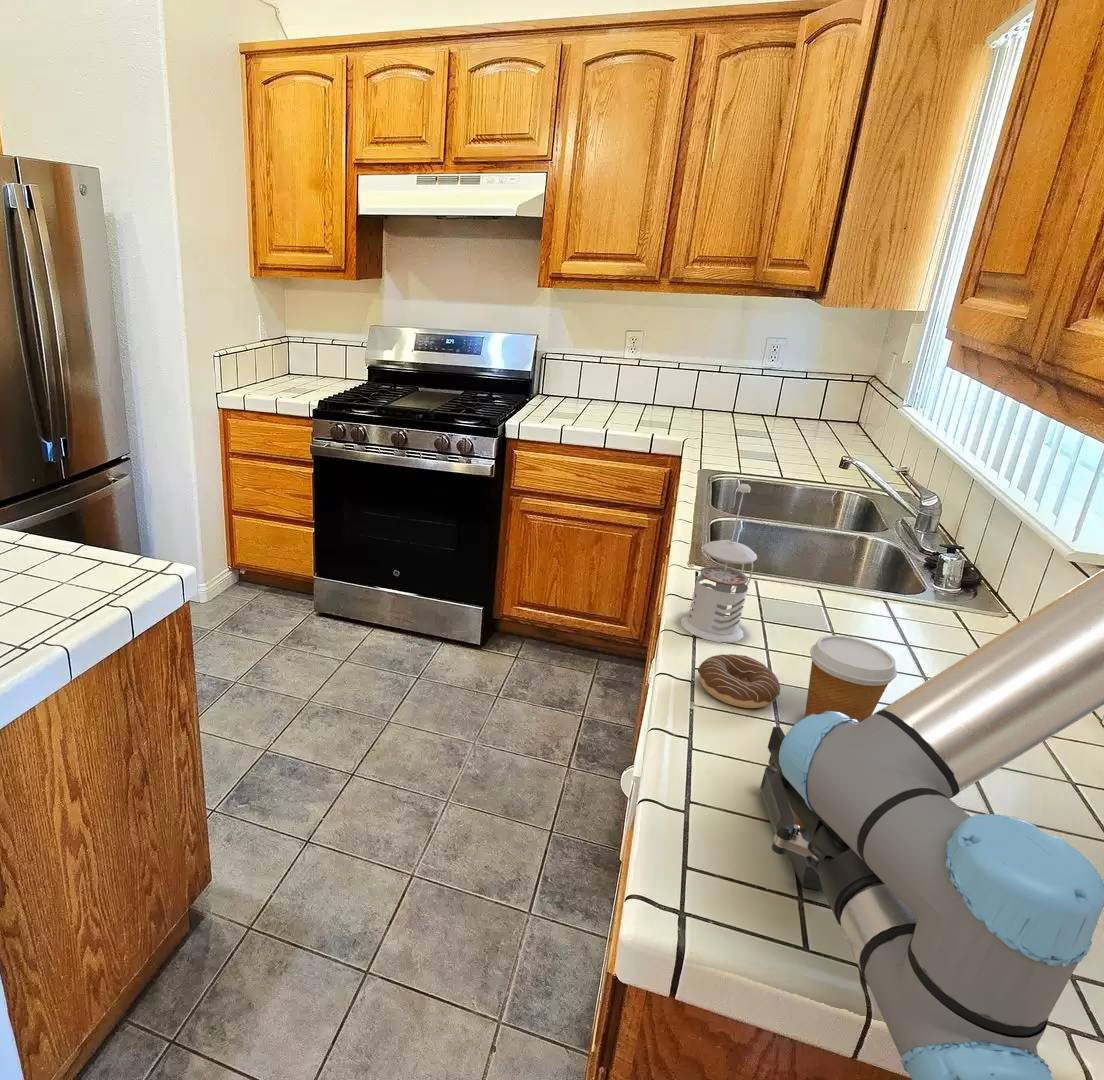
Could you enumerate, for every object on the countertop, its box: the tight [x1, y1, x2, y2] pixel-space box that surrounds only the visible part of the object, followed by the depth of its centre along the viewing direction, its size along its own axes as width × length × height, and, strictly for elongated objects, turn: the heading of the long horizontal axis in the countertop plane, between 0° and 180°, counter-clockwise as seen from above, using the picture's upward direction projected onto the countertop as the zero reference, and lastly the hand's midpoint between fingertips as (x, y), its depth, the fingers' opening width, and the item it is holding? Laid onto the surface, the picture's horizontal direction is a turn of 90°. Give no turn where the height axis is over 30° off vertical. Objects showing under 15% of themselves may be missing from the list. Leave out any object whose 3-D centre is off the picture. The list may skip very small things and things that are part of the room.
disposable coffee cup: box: [804, 634, 898, 723], centre depth 96 cm, size 10×10×12 cm
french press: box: [680, 483, 758, 643], centre depth 121 cm, size 10×12×25 cm
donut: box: [697, 653, 781, 709], centre depth 106 cm, size 11×11×4 cm
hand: (792, 740), depth 82 cm, fingers closed on squeegee, 3 cm apart
